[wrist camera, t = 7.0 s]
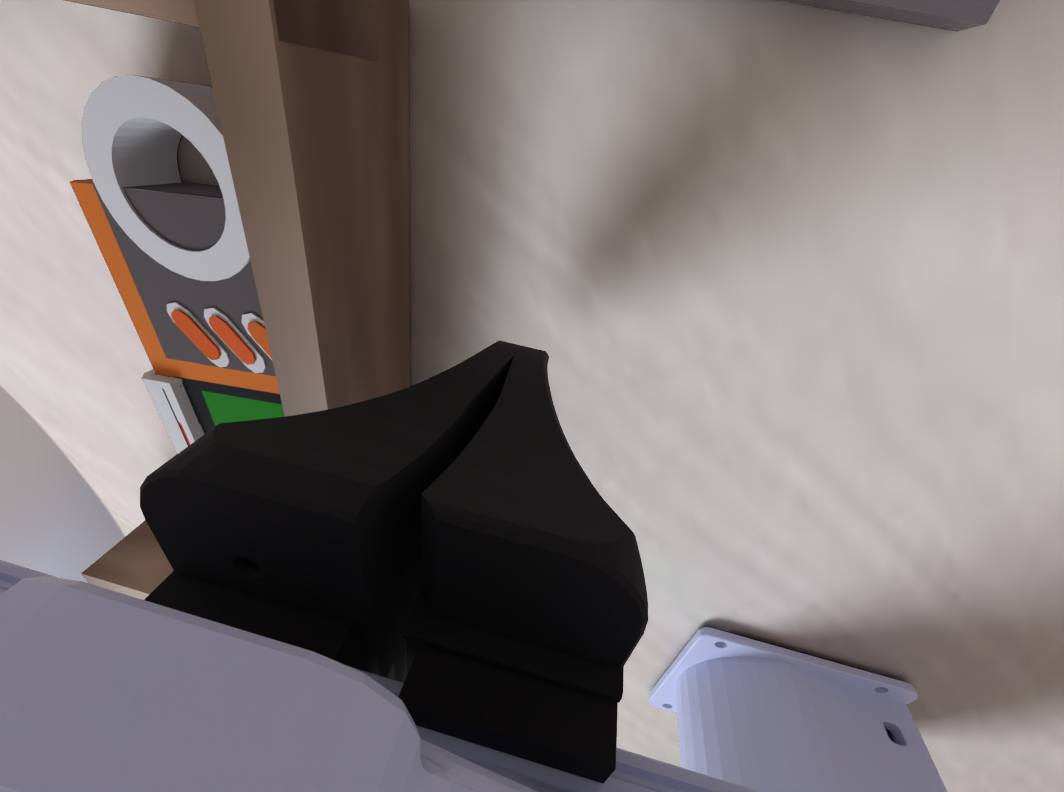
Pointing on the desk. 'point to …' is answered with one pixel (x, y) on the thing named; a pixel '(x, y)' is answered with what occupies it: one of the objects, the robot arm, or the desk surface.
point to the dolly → (307, 200)
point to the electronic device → (177, 253)
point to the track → (916, 11)
